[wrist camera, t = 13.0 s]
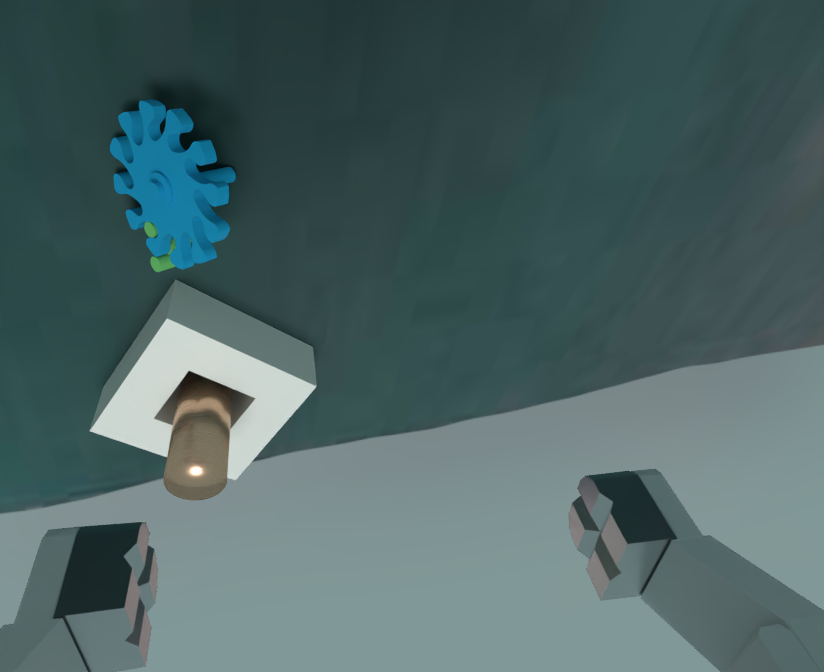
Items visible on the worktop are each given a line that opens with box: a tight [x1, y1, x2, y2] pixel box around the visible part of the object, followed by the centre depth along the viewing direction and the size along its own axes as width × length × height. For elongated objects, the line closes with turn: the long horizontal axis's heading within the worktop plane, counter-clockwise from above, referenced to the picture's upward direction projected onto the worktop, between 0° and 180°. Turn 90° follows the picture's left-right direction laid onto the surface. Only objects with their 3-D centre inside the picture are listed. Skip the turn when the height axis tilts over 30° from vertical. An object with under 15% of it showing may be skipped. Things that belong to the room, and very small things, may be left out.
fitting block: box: [90, 279, 317, 480], centre depth 49 cm, size 12×12×5 cm
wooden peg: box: [164, 371, 233, 500], centre depth 46 cm, size 4×4×12 cm
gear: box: [110, 99, 236, 272], centre depth 39 cm, size 11×6×10 cm
